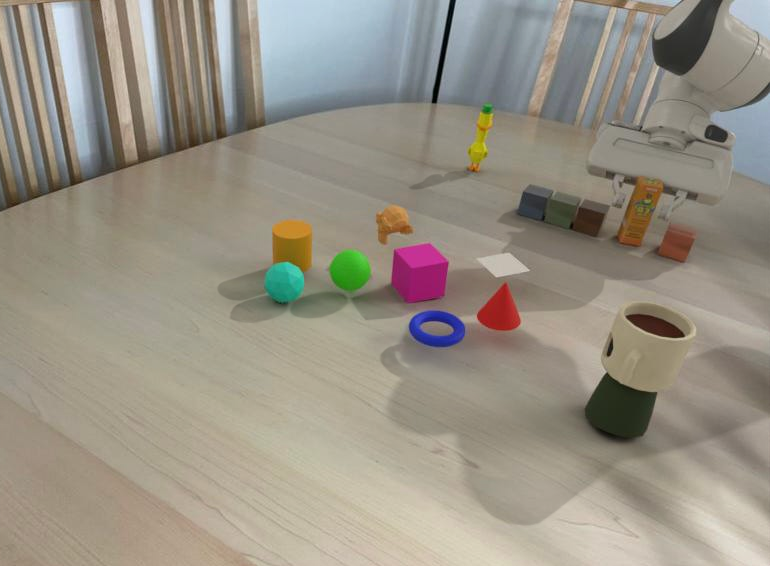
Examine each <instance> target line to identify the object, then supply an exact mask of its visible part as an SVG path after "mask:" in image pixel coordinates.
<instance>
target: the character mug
mask: <svg viewBox="0 0 770 566" xmlns="http://www.w3.org/2000/svg"><path fill="white" fill-rule="evenodd" d="M608 333H609V334H608V336H607V339H606V341H605V344H604V346H603V349H602V352H601V355H600V363H601V365H602V368H604V370H605V373H604V375H603V376H602V378H601V379H600V381H599V382H598V384H597V385H596V387H595V389H594V390H593V392H592V394H591V395H590V398H589V400H588V401H587V403H586V405H585V407H584V415H585V418H586V419H587V420H588V422H589V423H590V424H591V425H592V426H593V427H595V428H598V429H600V430H601V431H603V432H606V433H609V434H611V435H612V434H613V435H614V436H615V435H616V436H618V437H623V438H629V439H635V438H636V439H637V438H640V437H644V435H645V434H646V432H647V431H648V428H649V426H650V422H651V419H652V416H653V413H654V409H655V404H656V401H657V398H658V397H657V396H658V393H659V392H665V391H666V390H668V389H670V388H671V387H673V385H674V383H675V381H676V379H677V377H678V375H679V373H680V370H681V368H682V367H683V364H684V362H685V360H686V357H687V355H688V353H689V351H690V349H691V347H692V345H693V342H694V340H695V337H696V335H697V327H696V325H695V324H694V322H693V321H692V320H691V319H690V318H689V317H688V316H687V315H685V314H684V313H682V312H680V311H678V310H676V309H675V308H673V307H670V306H668V305H664V304H661V303H657V302H652V301H646V300H645V301H644V300H632V301H627V302H624V303H623V304H621V305H620V306H619V308H618V311H617V313H616V315H615V317H614V320H613V323H612V326H611V328H610V331H609V332H608Z"/></svg>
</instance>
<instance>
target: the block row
mask: <svg viewBox="0 0 770 566" xmlns="http://www.w3.org/2000/svg"><path fill="white" fill-rule="evenodd" d="M520 197H521V198H520V201H519V204H518V208H517V212H516V214H517V215H520V216H523V217H527V218H531V219H533V220H537V221H542V220H543V219H544V220H543V223H546V224H550V225H554V226H558V227H561V228H563V229H567V230H568V229H570V228H571V226H572V228H571V230H572V231H574V232H579V233H581V234H585V235H588V236H592V237H596V238H598V236H599V235H600V234H601V231H602V230H603V228H604V226H605V222H606V219H607V216H608V214H609V211H610V208H611V205H609V204H605V203H602V202H599V201H594V200H591V199H587V198H584V200H583V201H582V199H583V198H582V197H581V196H576V195H572V194H569V193H565V192H562V191H558V190H556V191H555V193H554V190H553V189H550V188H546V187H542V186H539V185H535V184H533V183H530V184H528V185H527V186H526V187H525V189H524V190H523V191H522V193H521V196H520ZM581 201H582V202H581ZM664 233H665V234H664V236H663V238H662V241H661V244H660V246H659V249H658V252H657V255H658V256H661V257H665V258H668V259H672V260H675V261H679V262H682V263H686V262H687V259H688V256H689V254H690V252H691V250H692V247H693V244H694V242H695V241H696V237H697V234H698V228H695V227H691V226H687V225H684V224H679V223H676V222H672V221H670V222H669V223H668V226H667V229H666V231H665V232H664Z"/></svg>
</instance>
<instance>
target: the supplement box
mask: <svg viewBox="0 0 770 566" xmlns="http://www.w3.org/2000/svg"><path fill="white" fill-rule="evenodd" d="M662 191H663V185H662V182H661V180H660V179H652V178H647V177H642V176H640V177H638V179H637V182H636V185H635V186H634V187H633V191H632V193H631V196H630V199H629V201H628V204H627V206H626V209H625V212H624V214H623V217H622V220H621V222H620V225H619V228H618V230H617V233H616V235H617V239H618V242H619V243H620V244H623V245H624V244H625V245H631V246H635V247H636V246H637V247H640V246H641V245H642V242H643V239H644V237H645V234H646V232H647V230H648V228H649V225H650V222H651V220H652V218H653V215H654V213H655V210H656V208H657V205H658V202H659V201H660V199H661V196H662V194H663V193H662Z"/></svg>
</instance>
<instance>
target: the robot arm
mask: <svg viewBox="0 0 770 566" xmlns="http://www.w3.org/2000/svg"><path fill="white" fill-rule="evenodd" d="M734 2H735V0H680V1H679V2H678V3H677V4H675V5H674V6H673V7H672V8H671V9H670V10H669V11H668V12H667V13H665V15H664V16H663V17H662V18H661V19H660V21H659V22H658V23H657V24H656V26H655V28H654V30H653V32H652V35H651V36H652V37H651V49H652V56H653V61H654V64H655V65H656V66H658V67H660V68H661V69H663V70H665V72H664V73H663V76H662V78H661V80H660V83H659V86H658V93H657V97H656V98H655V100H654V101H653V102H652V104H651V105H650V107H649V109H648V111H647V114H646V117H645V119H644V121H643V123H642V125H639V124H636V123H630V122H624V121H622V120H617V119H613V120H612V121H606V122H603V123H601V125H600V126H599V127H598V130H597V131H596V134H595V143H594V145H593V146H592V148H591V150H590V151H589V154H588V156H587V158H586V163H585V169H586V171H587V173H588V174H589V175H590V176H594V177H599V178H601V179H606V180H610V181H612V185H611V188H612V191H613V196H614V197H613V199H612V203H611V207H613V208H617V209H620V210H621V209H622V208H623V205H624V203H625V200H626V196H627V194H625V193H622V191H621V189H622V187H623V185H624V184H625V185H629V186H633V187H635V185H636V182H637V179H638V177H640V176H642V177H647V178H652V179H660V180H661V182H662V185H663V191H662V193H661V194H664V195H667V196H672V197H674V198H673V202H671V203H670V204H669V205H668V204H662V206H661V208H660V211H659V214H658V216H657V220H661V221H664V222H668V221H669V219H670V216H671V214H672V213H673V212H675V211H676V210H677V209H679V208H680V207H681V206H683V205H684V203H685V200H688V201H691V202H695V203H699V204H704V205H707V206H712V207H715V206H717V205H719V204H720V203H722V201H723V200H724V198H725V196H726V193H727V192H728V188H729V185H730V182H731V178H732V174H733V169H734V156H733V154H732V152H733V150H734V147H735V144H736V140H737V137H736V135H735V134H734V133H733V132H731V131H730V130H728V129H726V128H724V127H722V126H720V125H718V124H717V123H715V122H713V121H712V120H711V117H712V115H713V114H714V113H715V112H720V113H722V112H723V113H724V112H729V111H733V110H737V109H741V108H746V107H748V106H752V105H755V104H757V103H759V102H761V101H762V100H765V98H766V97H767V96H768V95H769V94H770V40H769V38H767V37H766V36H764V35H763V34H762V33H760V32H758V31H757V30H755V29H753V28H752V27H750V26H749V25H747V24H746V23H744V22H743V21H741V20H740V19H739V18H737V17H736V16H735V15H733V14H732V13H730V7H731V5H732V4H733V3H734Z"/></svg>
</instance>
